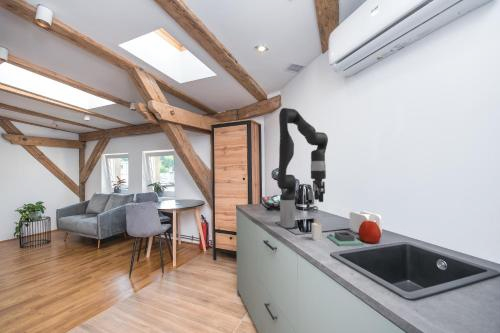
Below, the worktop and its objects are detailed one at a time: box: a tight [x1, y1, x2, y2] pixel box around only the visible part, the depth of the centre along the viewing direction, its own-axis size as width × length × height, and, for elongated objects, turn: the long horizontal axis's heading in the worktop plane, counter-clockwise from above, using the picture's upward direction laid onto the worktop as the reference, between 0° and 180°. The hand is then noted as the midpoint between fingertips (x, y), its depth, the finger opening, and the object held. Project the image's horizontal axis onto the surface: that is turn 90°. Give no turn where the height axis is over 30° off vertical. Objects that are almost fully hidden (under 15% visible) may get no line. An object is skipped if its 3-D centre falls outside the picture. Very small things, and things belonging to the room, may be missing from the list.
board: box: [326, 231, 364, 247], centre depth 113 cm, size 14×12×4 cm
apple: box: [357, 221, 382, 244], centre depth 113 cm, size 10×10×10 cm
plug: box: [311, 222, 323, 241], centre depth 117 cm, size 4×4×8 cm
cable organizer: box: [349, 210, 383, 235], centre depth 127 cm, size 15×11×12 cm
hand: (318, 200), depth 116 cm, fingers open, 8 cm apart
